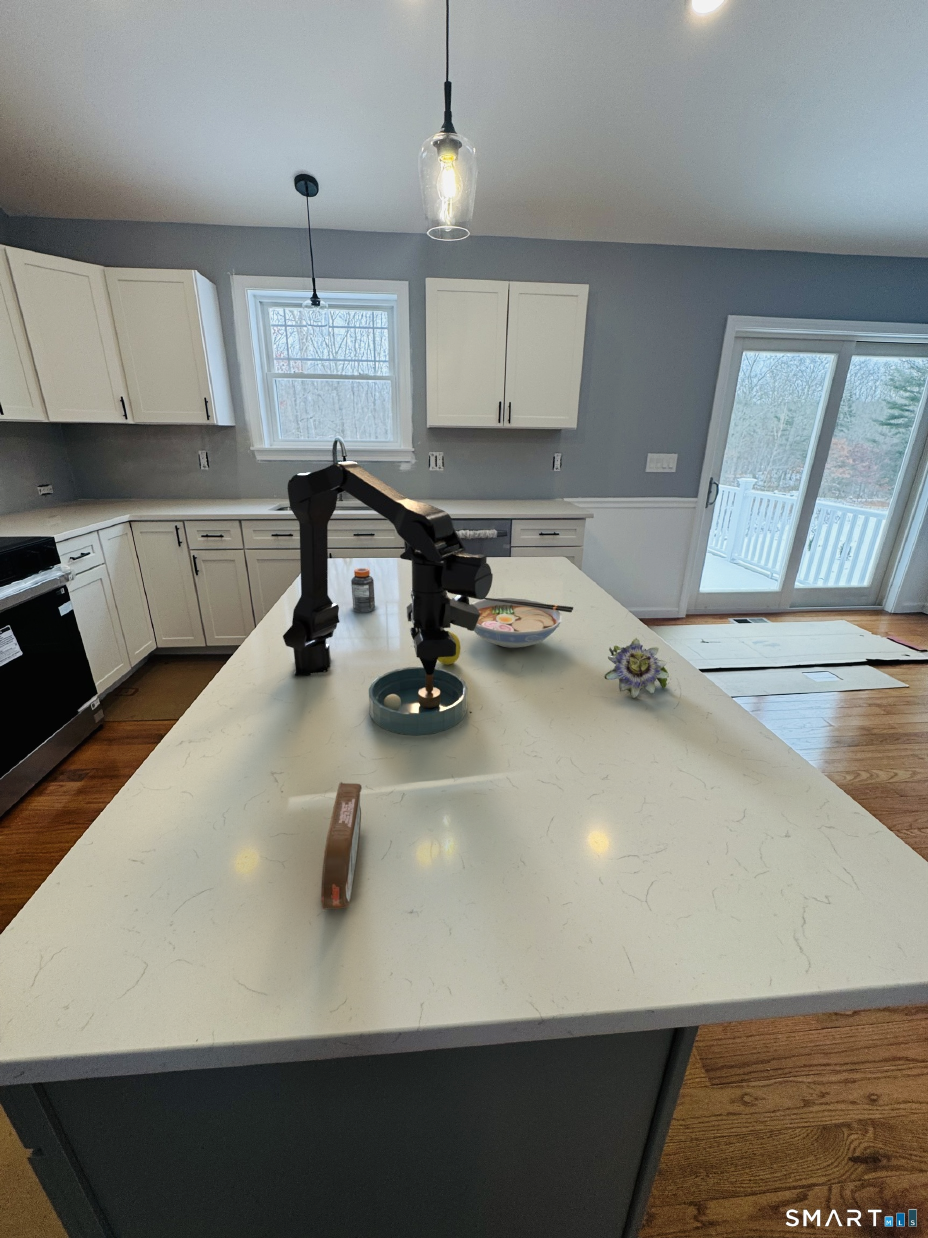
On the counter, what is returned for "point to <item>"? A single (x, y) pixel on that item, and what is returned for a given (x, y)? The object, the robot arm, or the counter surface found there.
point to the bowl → (411, 713)
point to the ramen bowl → (517, 621)
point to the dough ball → (392, 702)
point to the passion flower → (637, 668)
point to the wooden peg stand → (429, 693)
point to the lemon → (452, 659)
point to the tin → (341, 847)
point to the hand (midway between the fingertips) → (429, 672)
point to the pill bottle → (363, 590)
